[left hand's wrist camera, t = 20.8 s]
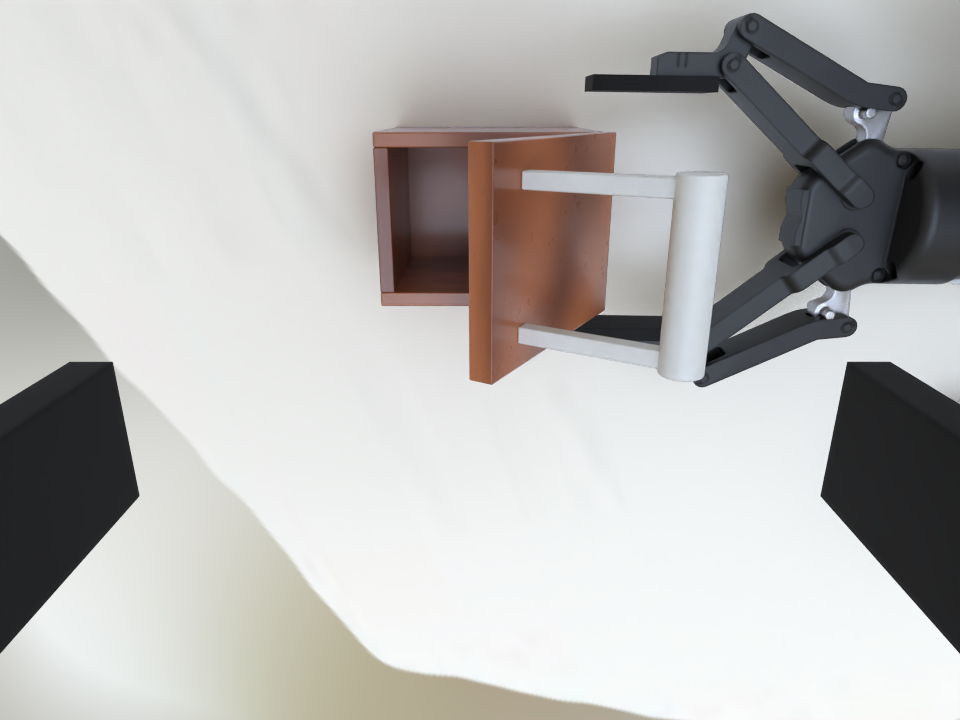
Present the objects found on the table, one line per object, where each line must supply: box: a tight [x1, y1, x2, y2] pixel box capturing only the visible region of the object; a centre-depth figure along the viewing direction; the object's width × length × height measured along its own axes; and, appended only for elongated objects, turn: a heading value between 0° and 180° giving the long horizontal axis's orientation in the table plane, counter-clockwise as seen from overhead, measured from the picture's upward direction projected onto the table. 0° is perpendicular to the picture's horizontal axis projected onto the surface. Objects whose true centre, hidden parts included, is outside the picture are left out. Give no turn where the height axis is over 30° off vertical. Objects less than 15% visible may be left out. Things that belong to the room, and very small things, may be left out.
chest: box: [373, 127, 600, 306], centre depth 40 cm, size 12×9×10 cm
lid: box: [468, 132, 729, 385], centre depth 28 cm, size 12×9×8 cm
